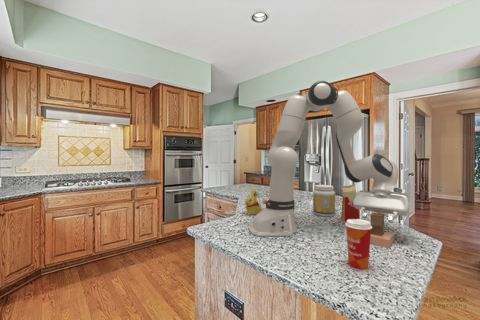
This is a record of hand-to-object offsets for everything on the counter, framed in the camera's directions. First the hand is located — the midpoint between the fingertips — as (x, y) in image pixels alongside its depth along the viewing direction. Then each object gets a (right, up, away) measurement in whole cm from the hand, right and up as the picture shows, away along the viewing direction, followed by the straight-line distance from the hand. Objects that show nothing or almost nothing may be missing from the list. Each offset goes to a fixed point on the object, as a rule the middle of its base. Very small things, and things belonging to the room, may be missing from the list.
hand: (376, 219), depth 95 cm
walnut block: (0, -6, +1) cm, 6 cm away
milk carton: (+2, -8, +29) cm, 30 cm away
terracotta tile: (+1, -9, +1) cm, 9 cm away
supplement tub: (-6, -8, +43) cm, 44 cm away
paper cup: (-17, -10, -20) cm, 28 cm away
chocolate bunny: (-47, -8, +43) cm, 64 cm away
